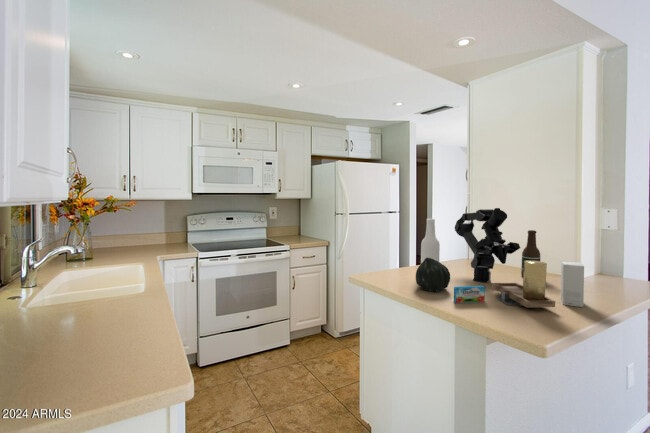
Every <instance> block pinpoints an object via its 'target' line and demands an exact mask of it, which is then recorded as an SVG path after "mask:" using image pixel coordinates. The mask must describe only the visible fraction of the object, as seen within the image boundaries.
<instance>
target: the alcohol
mask: <svg viewBox="0 0 650 433" xmlns="http://www.w3.org/2000/svg"><path fill="white" fill-rule="evenodd" d="M435 222H436V221H435V218H426V227H425V228H426V229H425V236H424V238H423V239H422V240H421V244H420V264H421V263H422V262H423V261H424V260H425V259H426V258H432V259H434V260H436V261H438V262H440V249H441V248H440V247H441V246H440V241H439V240H438V238H437V237H436V225H435Z"/></svg>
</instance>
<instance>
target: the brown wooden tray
mask: <svg viewBox="0 0 650 433" xmlns="http://www.w3.org/2000/svg"><path fill="white" fill-rule="evenodd" d="M492 289H493V290H494V291H495V290H496V291H497V292H498V293H501V294H502V292H506V293H508V297H509V298H511V299H513V300H515V301H516V302H518V303H520V304H522V305H521V306H524V307H525V308H556V300H553V299H552V298H550V297H548V296H546V295H545V300H526V299H524V298H523V284H520V283H518V282H492Z"/></svg>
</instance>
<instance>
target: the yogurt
mask: <svg viewBox="0 0 650 433" xmlns="http://www.w3.org/2000/svg"><path fill="white" fill-rule="evenodd" d="M484 302H486V287H485V286H483V285H467V286H466V285H465V286H464V285H463V286H453V303H455V304H465V303H466V304H468V303H470V304H471V303H473V304H474V303H484Z"/></svg>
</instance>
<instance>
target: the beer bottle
mask: <svg viewBox="0 0 650 433" xmlns="http://www.w3.org/2000/svg"><path fill="white" fill-rule="evenodd" d="M529 260H531V261H541V252H540V250H539V248H538V247H537V230H535V229H534V230H533V229H529V230H528V231H527V241H526V245H525V248H523V251H522V252H521V269H520V270H521V271H520V272H521V278H522V279H523V275H524V261H529Z"/></svg>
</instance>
